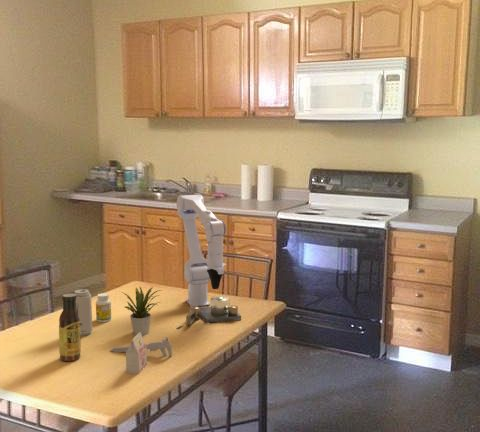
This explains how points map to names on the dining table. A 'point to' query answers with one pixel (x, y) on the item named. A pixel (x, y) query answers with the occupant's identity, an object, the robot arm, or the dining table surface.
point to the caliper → (151, 347)
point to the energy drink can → (84, 311)
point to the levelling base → (216, 317)
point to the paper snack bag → (136, 355)
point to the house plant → (141, 311)
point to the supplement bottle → (103, 308)
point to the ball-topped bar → (193, 314)
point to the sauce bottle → (69, 330)
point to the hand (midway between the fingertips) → (215, 288)
